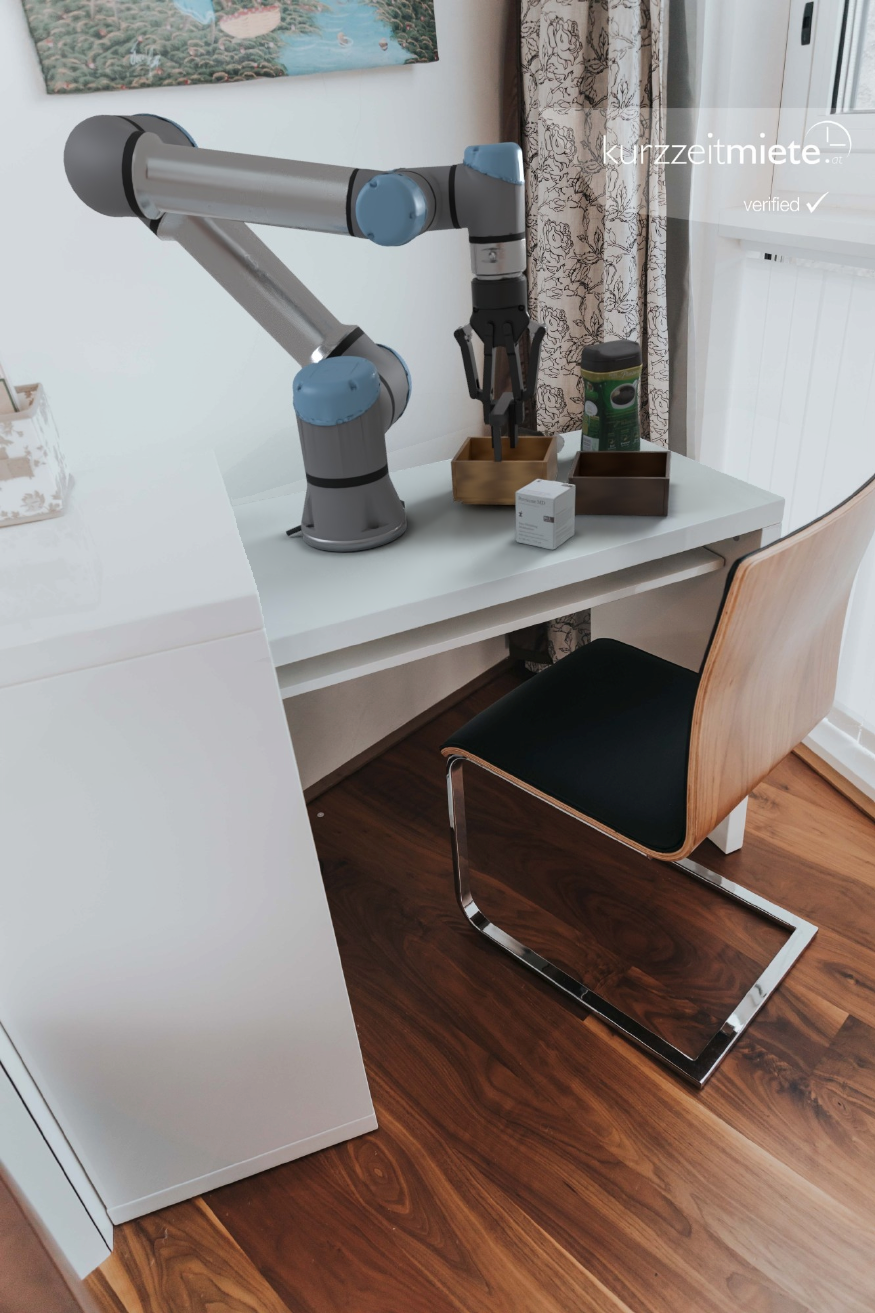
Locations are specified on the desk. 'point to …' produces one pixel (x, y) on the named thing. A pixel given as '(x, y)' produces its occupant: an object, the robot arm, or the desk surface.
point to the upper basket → (501, 462)
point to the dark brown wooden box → (621, 482)
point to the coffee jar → (611, 396)
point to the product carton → (545, 513)
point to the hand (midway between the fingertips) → (505, 445)
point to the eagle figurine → (527, 432)
